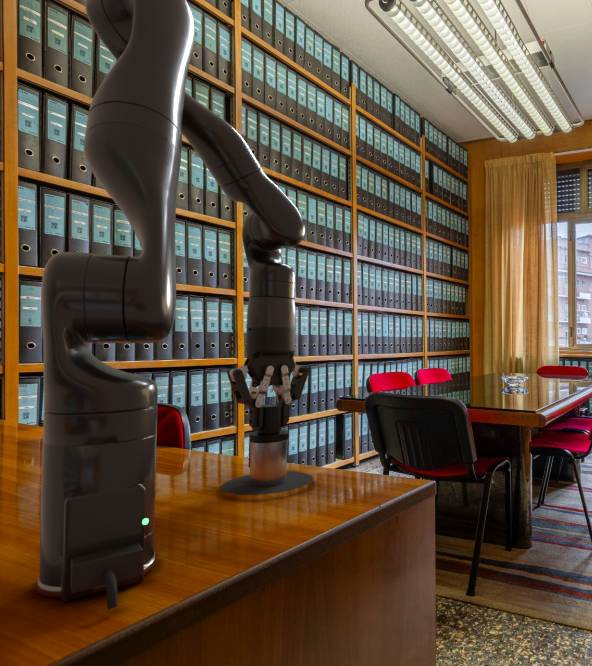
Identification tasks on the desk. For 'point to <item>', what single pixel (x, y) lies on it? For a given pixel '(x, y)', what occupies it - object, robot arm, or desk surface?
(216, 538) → the desk surface
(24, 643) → the desk surface
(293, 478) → the disc
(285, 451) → the steel travel mug
